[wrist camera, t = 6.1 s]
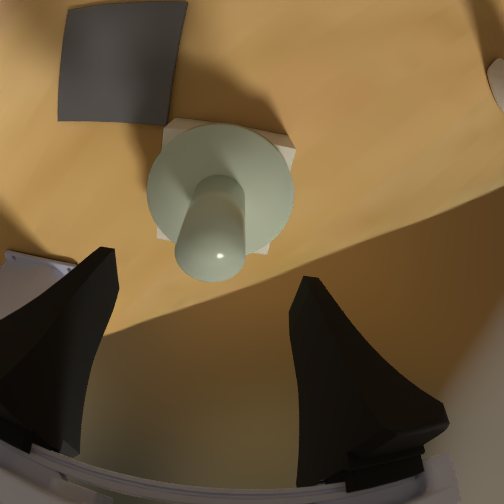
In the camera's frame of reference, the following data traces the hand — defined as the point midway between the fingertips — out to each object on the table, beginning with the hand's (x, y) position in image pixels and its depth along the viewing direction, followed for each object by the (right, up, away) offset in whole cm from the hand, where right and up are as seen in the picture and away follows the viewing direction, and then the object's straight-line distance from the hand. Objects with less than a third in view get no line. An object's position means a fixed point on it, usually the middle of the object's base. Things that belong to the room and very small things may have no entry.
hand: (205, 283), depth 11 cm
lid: (0, +4, +5) cm, 7 cm away
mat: (-7, +13, +3) cm, 15 cm away
